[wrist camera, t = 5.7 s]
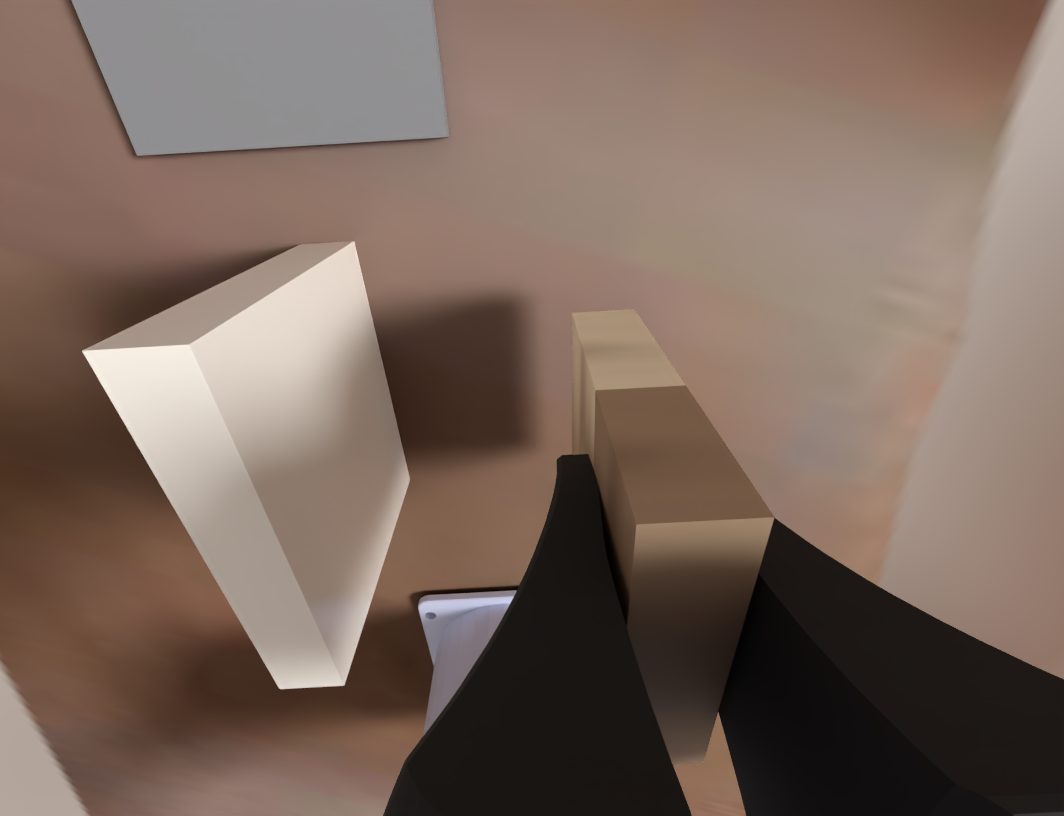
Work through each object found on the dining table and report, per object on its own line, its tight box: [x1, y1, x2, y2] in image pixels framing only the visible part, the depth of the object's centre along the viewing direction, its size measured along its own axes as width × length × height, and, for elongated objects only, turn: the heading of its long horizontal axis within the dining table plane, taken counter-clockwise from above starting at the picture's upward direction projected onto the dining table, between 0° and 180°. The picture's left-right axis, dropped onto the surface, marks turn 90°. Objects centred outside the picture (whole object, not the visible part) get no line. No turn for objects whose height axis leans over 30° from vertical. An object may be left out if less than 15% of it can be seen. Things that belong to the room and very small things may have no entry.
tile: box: [82, 241, 410, 689], centre depth 13 cm, size 9×2×8 cm, turn 3°
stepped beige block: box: [572, 309, 774, 765], centre depth 10 cm, size 6×2×8 cm, turn 3°
